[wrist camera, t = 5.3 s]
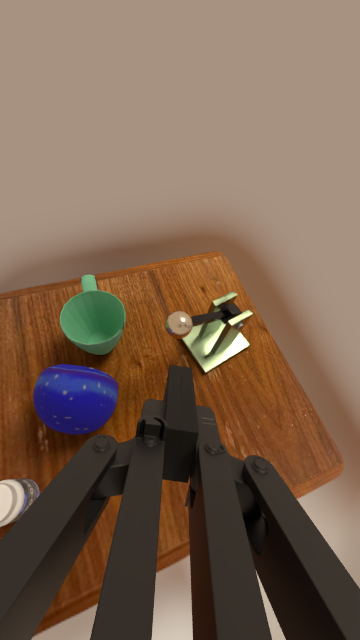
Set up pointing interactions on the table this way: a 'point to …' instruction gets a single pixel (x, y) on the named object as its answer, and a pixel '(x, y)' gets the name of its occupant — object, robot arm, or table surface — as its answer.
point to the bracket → (217, 337)
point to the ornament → (75, 398)
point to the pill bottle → (16, 498)
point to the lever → (197, 320)
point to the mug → (93, 318)
